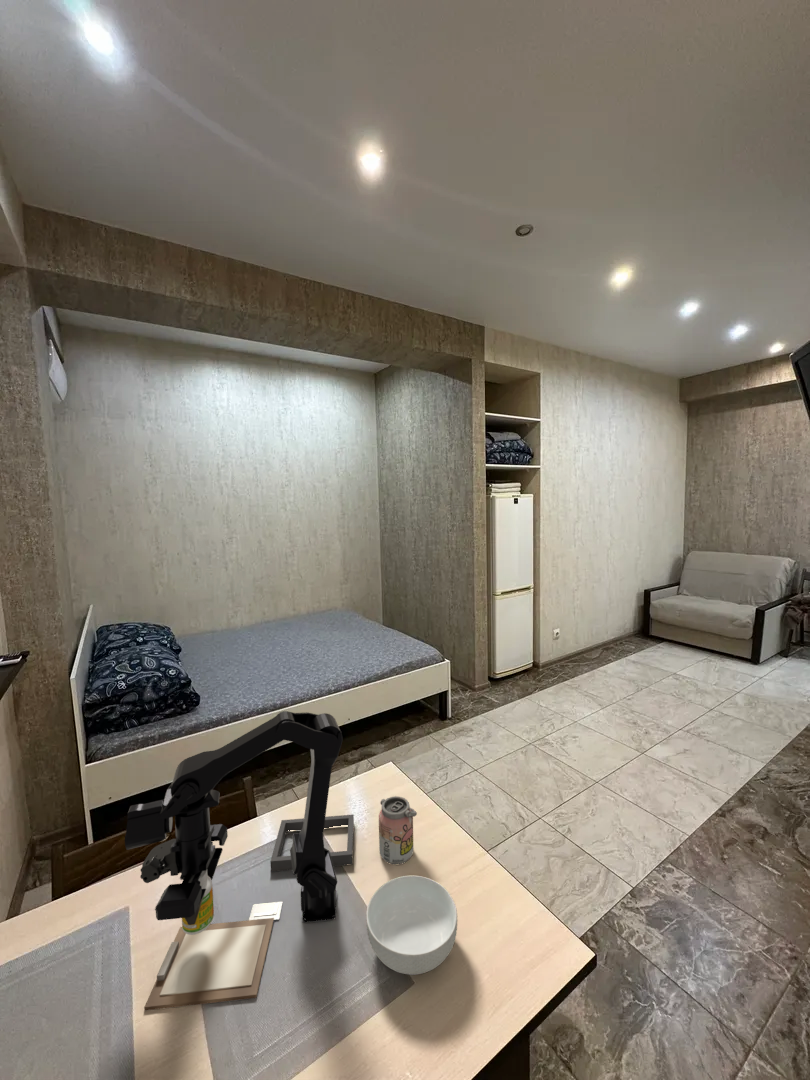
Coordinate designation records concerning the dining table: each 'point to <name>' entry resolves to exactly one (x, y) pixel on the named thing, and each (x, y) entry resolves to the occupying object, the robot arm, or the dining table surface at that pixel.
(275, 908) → the letter card
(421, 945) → the cereal bowl
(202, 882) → the supplement bottle
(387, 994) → the dining table surface
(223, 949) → the clipboard
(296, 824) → the empty rectangular frame
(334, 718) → the robot arm
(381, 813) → the beverage can
